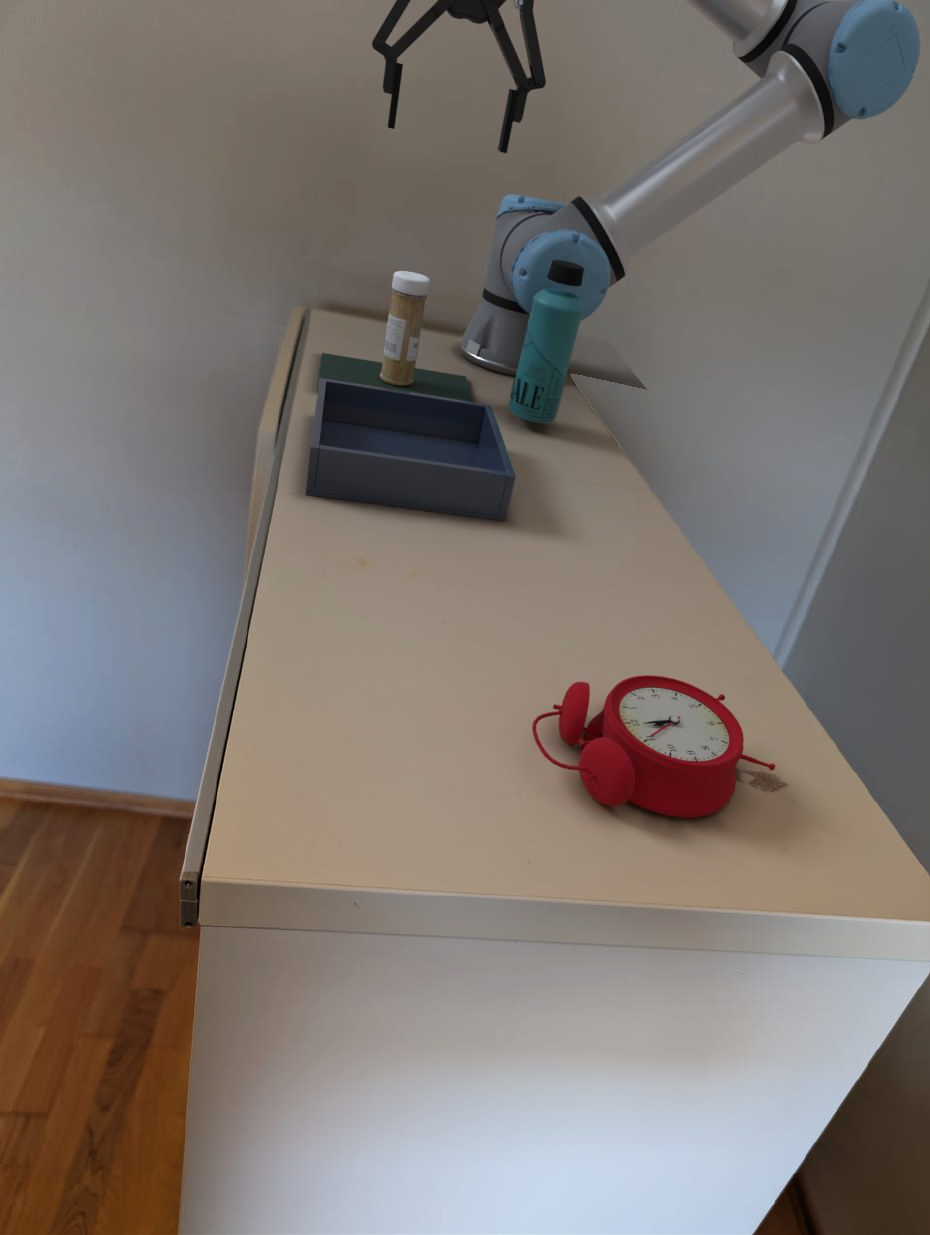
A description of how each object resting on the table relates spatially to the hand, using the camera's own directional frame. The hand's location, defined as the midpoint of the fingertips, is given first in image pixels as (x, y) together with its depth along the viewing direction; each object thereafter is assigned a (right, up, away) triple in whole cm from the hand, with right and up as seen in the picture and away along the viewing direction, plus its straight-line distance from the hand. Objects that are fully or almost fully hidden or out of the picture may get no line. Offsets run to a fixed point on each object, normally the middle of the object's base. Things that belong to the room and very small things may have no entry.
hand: (447, 140), depth 103 cm
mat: (-7, -27, +10) cm, 29 cm away
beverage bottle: (+10, -33, +7) cm, 35 cm away
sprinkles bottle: (-7, -26, +10) cm, 29 cm away
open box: (-4, -41, -12) cm, 43 cm away
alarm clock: (+14, -67, -45) cm, 82 cm away
